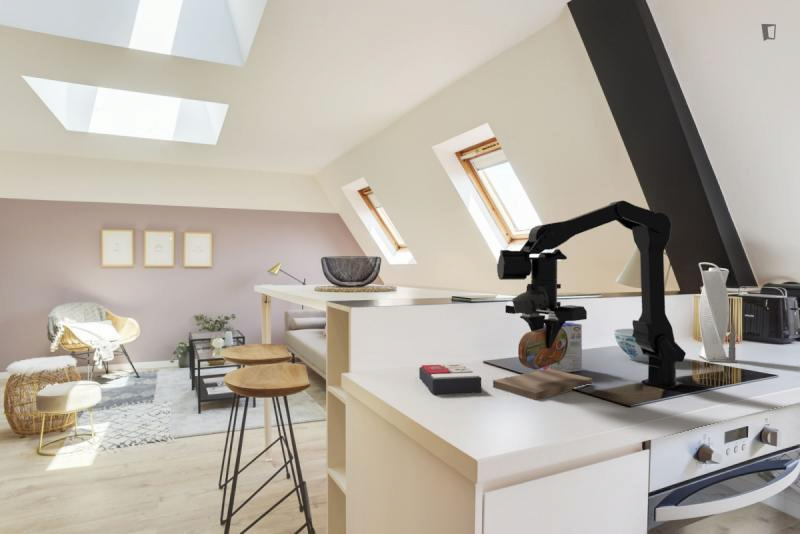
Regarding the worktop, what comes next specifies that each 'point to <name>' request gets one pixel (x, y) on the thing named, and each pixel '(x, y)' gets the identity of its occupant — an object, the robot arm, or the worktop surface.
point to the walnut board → (541, 383)
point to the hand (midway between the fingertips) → (543, 347)
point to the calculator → (449, 379)
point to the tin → (541, 349)
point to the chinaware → (629, 344)
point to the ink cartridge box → (570, 350)
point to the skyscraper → (715, 316)
